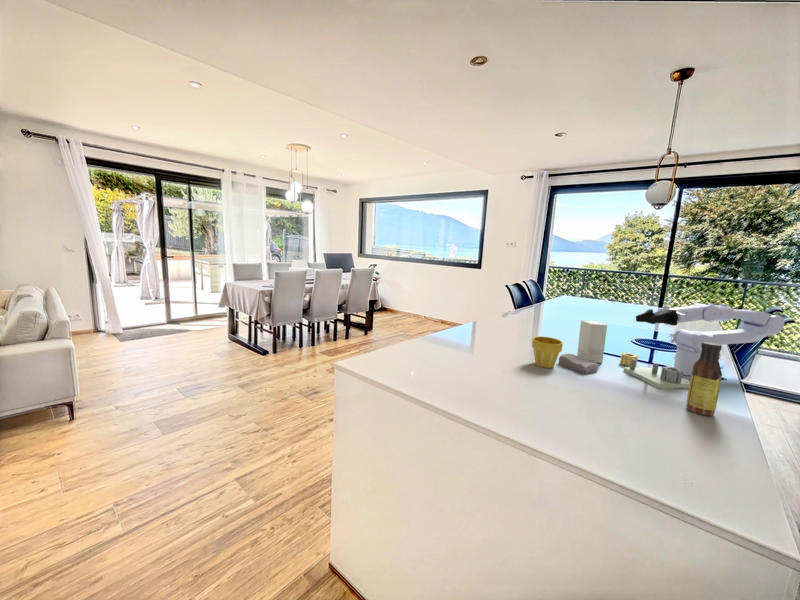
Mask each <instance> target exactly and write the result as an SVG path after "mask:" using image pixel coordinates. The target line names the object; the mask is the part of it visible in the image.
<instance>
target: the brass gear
mask: <svg viewBox="0 0 800 600" xmlns="http://www.w3.org/2000/svg"><path fill="white" fill-rule="evenodd" d="M638 358H639V356H638V355H636V354H635V353H628V352H622V353H621V354H620V360H619V361H620V362H619V364H620V363H621V364H620V365H623V364H624V365H627V366H626V367H629V366H630V364H631V359H635V360H637V361H636V366H635V368H637V365H638V364H637V363H638ZM624 365H623V366H624Z"/></svg>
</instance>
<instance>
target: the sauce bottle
mask: <svg viewBox="0 0 800 600" xmlns="http://www.w3.org/2000/svg"><path fill="white" fill-rule="evenodd" d="M722 346H723V345H720V344H717V343H712V342H702V345H701V347H702V351H701V355H700V358H699V360H698V361H696V362H695V363H694V365H693V370H692V373H691V375H690V380H689V381H690V385H689V388H688V392H687V397H686V404H685V407H686V409H687V410H688V411H690V412H692V413H695V414H698V415H701V416H707V417H712V416H714V414H715V411H716V410H717V404H718V399H719V394H720V388H721V383H722V378H723V373H722V369H721V365H720V361H719V360H720V358H719V357H720V353H721V350H722Z"/></svg>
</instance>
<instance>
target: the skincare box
mask: <svg viewBox="0 0 800 600" xmlns="http://www.w3.org/2000/svg"><path fill="white" fill-rule="evenodd" d="M579 327H580V328H579V335H578V336H579V337H578V343H577V345H578V346H577V355H576V356H578V357H580V358H582V359H583V360H586V361H591V362H594V363H597V364H603V361H604V352H605V346H606V345H605V344H606V339H607V338H606V337H607V329H608V324H605V323H602V322H599V321H597V320H580V326H579Z"/></svg>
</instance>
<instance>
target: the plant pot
mask: <svg viewBox="0 0 800 600" xmlns="http://www.w3.org/2000/svg"><path fill="white" fill-rule="evenodd" d="M531 342H532V343H531V346H532V347H531V348H533V356H534V364H535V365H536V366H538V367H540V368H546V369H552V368H554V367H555V365H556V364H557V363H556V362H557V360H558V357H559V354H560V353H561V352H562V350H563V347H564V346H563V345H564V343H563V342H562V341H561V340H560V339H558V338H554V337H549V336H542V335H541V336H534V337H532V341H531Z"/></svg>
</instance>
